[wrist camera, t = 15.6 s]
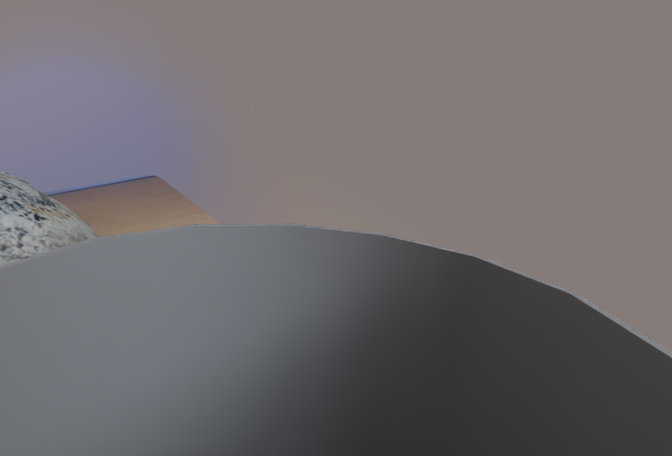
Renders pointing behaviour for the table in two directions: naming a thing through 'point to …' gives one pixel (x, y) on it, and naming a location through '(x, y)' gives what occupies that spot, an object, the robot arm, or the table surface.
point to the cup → (313, 352)
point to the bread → (34, 222)
